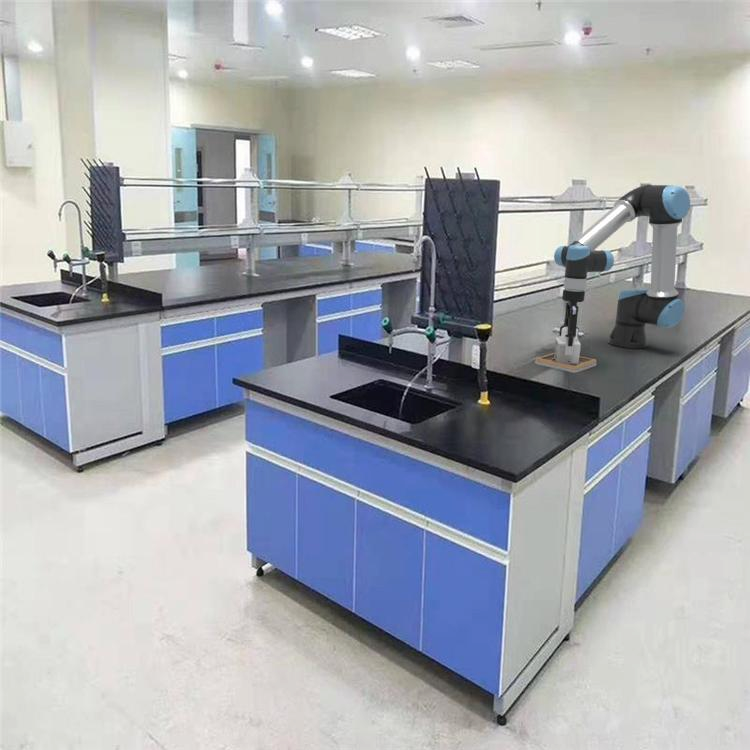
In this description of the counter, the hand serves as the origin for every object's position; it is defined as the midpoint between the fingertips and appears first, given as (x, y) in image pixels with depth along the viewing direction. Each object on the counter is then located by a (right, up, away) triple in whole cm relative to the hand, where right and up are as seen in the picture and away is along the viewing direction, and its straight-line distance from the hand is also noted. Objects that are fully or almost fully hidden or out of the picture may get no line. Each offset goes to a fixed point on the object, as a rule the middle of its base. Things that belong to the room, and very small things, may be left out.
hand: (567, 351), depth 254 cm
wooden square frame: (0, -5, +1) cm, 5 cm away
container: (0, -4, +1) cm, 4 cm away
